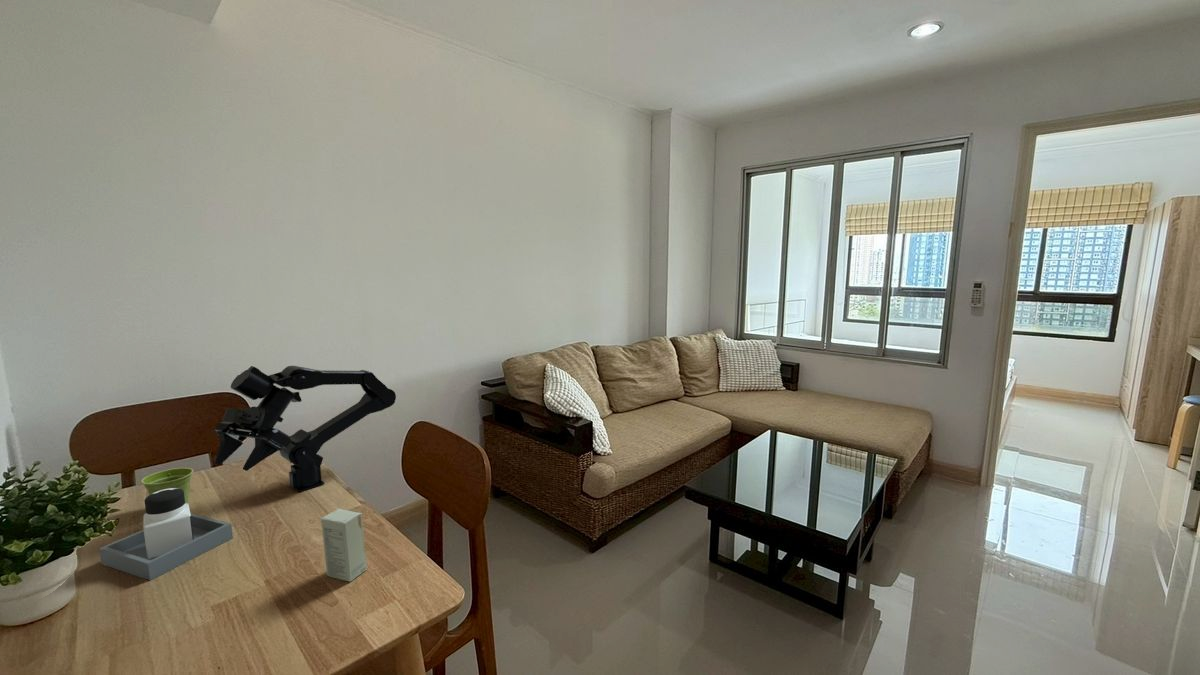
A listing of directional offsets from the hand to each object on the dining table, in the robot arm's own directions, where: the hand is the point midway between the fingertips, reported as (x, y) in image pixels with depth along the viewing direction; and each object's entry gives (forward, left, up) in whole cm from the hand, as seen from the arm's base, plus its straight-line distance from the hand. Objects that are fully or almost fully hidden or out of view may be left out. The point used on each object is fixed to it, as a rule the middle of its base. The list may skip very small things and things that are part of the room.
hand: (230, 467), depth 110 cm
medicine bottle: (+13, +6, -12) cm, 18 cm away
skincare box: (-7, +42, -13) cm, 45 cm away
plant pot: (+9, -17, -13) cm, 23 cm away
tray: (+13, +6, -12) cm, 19 cm away
